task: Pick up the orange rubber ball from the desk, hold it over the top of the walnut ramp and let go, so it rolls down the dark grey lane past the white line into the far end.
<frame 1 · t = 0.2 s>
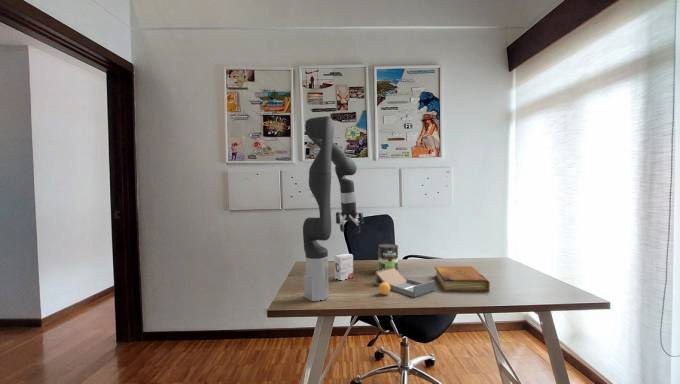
hand: (350, 232, 168), 22 cm above the table, tool pointing down, fingers open, 8 cm apart
ball: (384, 288, 139), point 2 cm above the table
ink box: (344, 279, 163), on the table
coffee can: (388, 272, 173), on the table
diary: (460, 284, 152), on the table
rolling lane: (401, 286, 149), on the table
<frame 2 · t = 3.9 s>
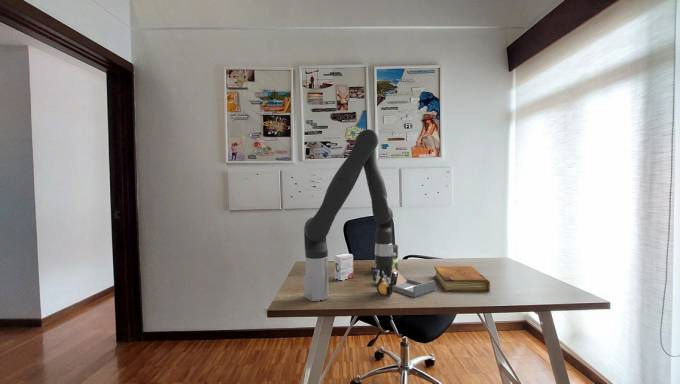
hand: (384, 293, 139), 0 cm above the table, tool pointing down, fingers closed on ball, 5 cm apart
ball: (384, 288, 139), point 2 cm above the table, touching gripper
everything else where it was.
when the fingers open (6 cm above the table, at t = 9.7 s): ball drops 5 cm and tips over, resting on rolling lane.
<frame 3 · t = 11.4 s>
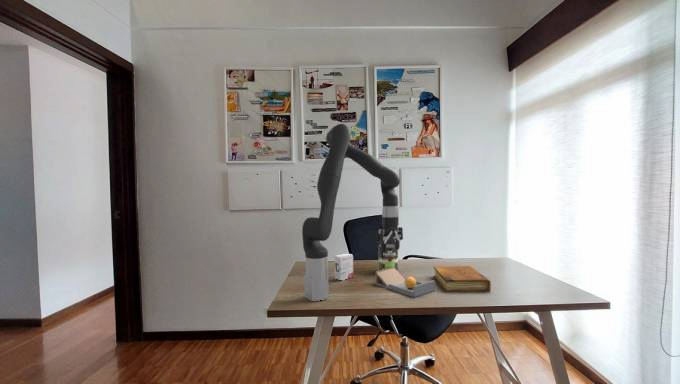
hand: (390, 250, 153), 15 cm above the table, tool pointing down, fingers open, 8 cm apart
ball: (410, 282, 145), point 3 cm above the table, tilted 42°, touching rolling lane
everything else where it was.
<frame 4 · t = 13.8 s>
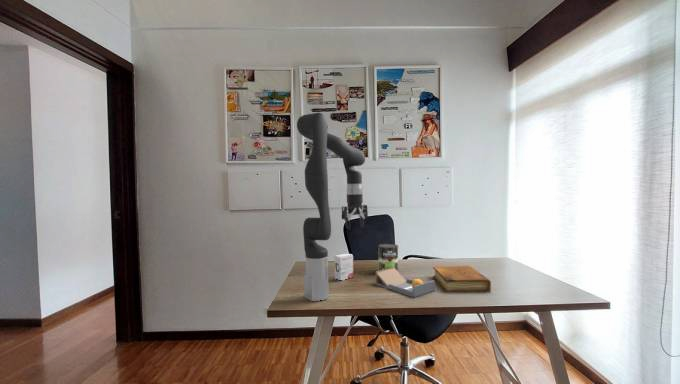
hand: (355, 227, 156), 26 cm above the table, tool pointing down, fingers open, 8 cm apart
ball: (417, 284, 141), point 3 cm above the table, tilted 50°, touching rolling lane
everything else where it was.
at the end: ball inside the target area (0.2 cm from its centre), point 3.0 cm above the table; the gripper is holding nothing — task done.
